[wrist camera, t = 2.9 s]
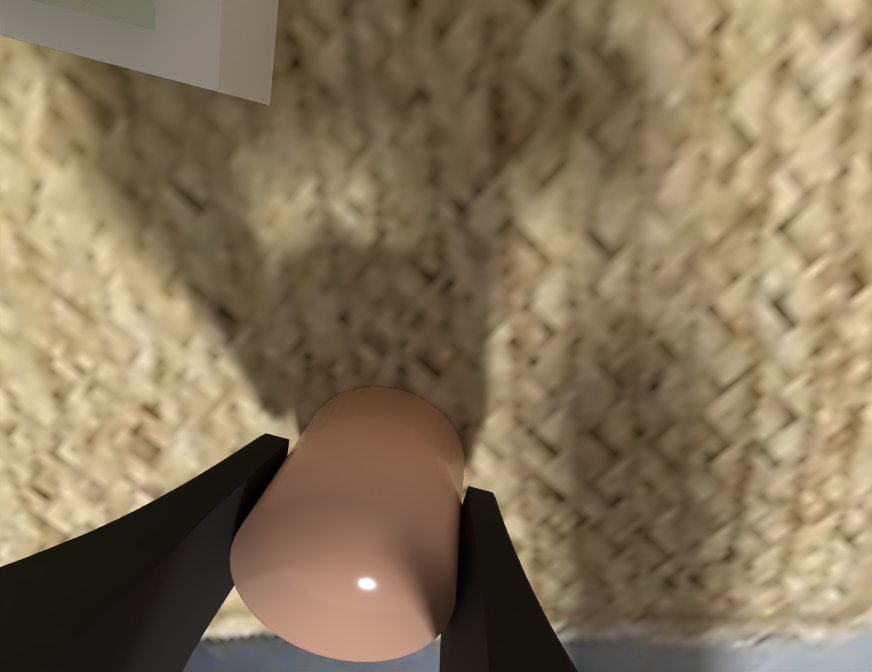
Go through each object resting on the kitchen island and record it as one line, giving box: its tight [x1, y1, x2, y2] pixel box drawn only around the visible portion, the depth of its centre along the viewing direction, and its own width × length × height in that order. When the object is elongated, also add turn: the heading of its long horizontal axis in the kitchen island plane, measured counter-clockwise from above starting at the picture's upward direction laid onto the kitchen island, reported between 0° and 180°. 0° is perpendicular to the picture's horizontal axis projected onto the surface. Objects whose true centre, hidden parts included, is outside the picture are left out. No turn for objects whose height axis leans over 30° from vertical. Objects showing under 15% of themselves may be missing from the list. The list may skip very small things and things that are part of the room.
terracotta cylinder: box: [230, 386, 465, 662], centre depth 11 cm, size 4×4×4 cm
